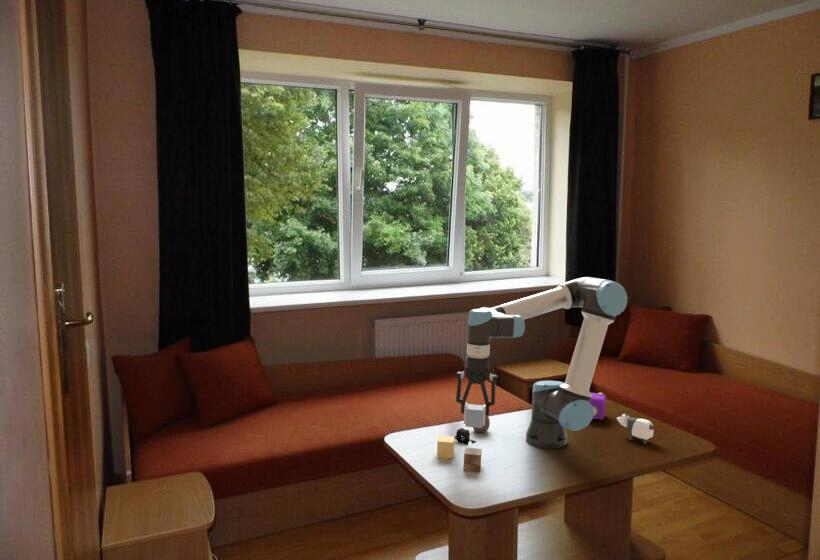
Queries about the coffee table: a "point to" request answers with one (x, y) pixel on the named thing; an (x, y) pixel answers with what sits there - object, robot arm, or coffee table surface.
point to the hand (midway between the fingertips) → (474, 423)
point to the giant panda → (637, 427)
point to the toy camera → (598, 405)
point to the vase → (484, 428)
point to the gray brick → (474, 416)
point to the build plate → (461, 439)
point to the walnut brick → (472, 459)
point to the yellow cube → (445, 446)
